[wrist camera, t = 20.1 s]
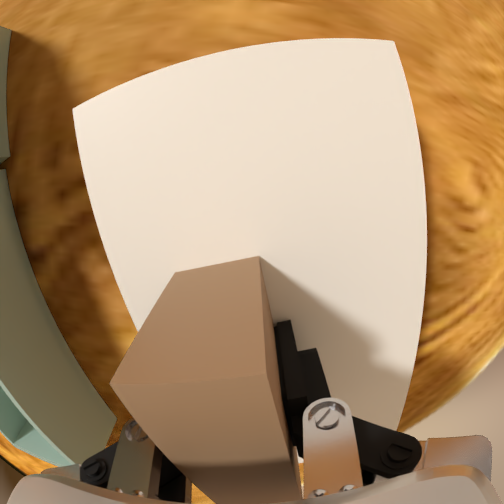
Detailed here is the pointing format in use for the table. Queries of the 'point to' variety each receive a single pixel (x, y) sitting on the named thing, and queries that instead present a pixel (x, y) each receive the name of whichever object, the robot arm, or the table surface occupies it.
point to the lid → (260, 246)
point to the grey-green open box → (38, 349)
